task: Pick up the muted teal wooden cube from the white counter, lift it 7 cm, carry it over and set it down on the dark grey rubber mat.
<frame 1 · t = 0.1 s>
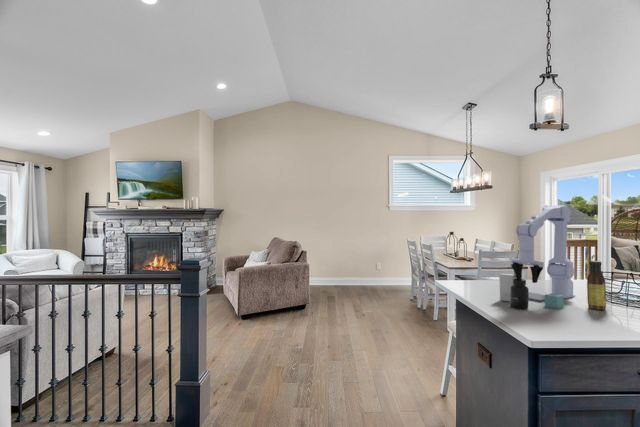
hand: (526, 281, 163), 10 cm above the table, tool pointing down, fingers open, 7 cm apart
teal cube: (554, 306, 158), on the table
sauce bottle: (596, 309, 154), on the table
rubber mat: (535, 298, 173), on the table
skincare box: (507, 301, 168), on the table, touching gripper
supplement bottle: (519, 308, 156), on the table
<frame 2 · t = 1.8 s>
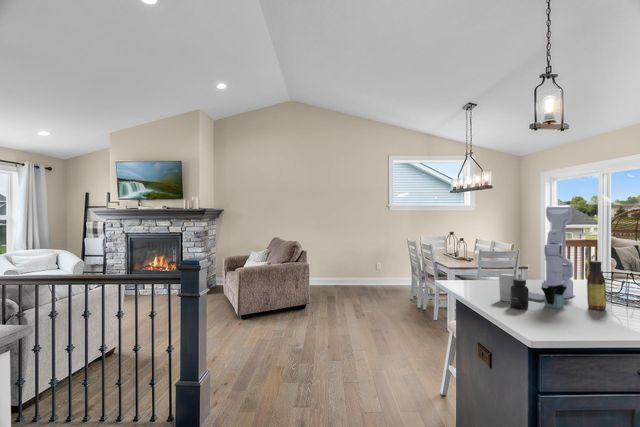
hand: (554, 303, 158), 1 cm above the table, tool pointing down, fingers closed on teal cube, 5 cm apart
teal cube: (554, 306, 158), on the table, touching gripper
skincare box: (507, 301, 168), on the table
everything else where it was.
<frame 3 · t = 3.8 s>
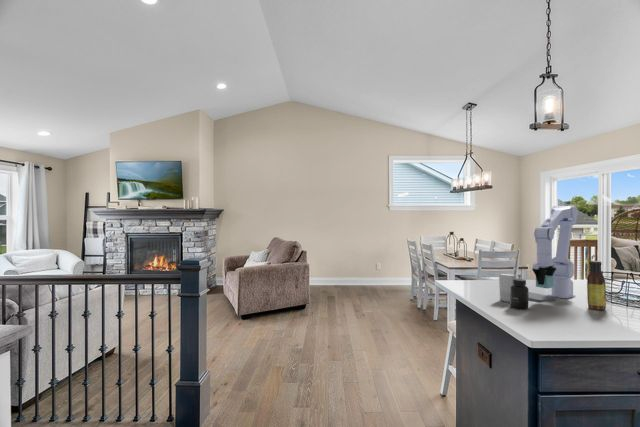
hand: (544, 283, 165), 8 cm above the table, tool pointing down, fingers closed on teal cube, 5 cm apart
teal cube: (544, 286, 165), point 7 cm above the table, touching gripper
everything else where it was.
when the fingers open (3 cm above the table, at t = 5.7 s): teal cube stays where it is, resting on rubber mat.
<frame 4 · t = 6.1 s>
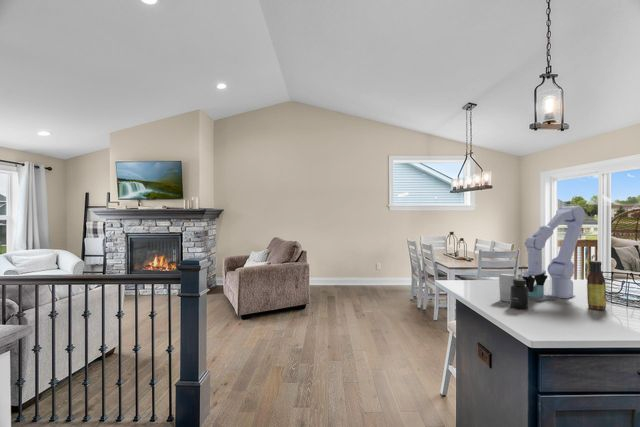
hand: (534, 290, 173), 3 cm above the table, tool pointing down, fingers open, 7 cm apart
teal cube: (535, 296, 173), point 1 cm above the table, touching rubber mat
everything else where it was.
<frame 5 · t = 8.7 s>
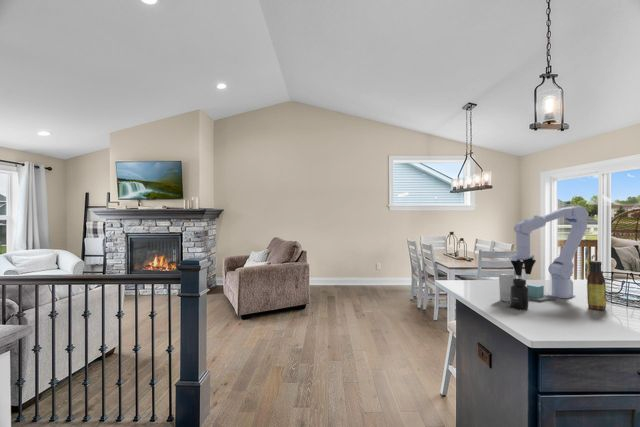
hand: (523, 274, 177), 10 cm above the table, tool pointing down, fingers open, 7 cm apart
nothing on the table moved.
at the end: teal cube inside the target area on the rubber mat (0.1 cm from its centre), point 1.0 cm above the rubber mat's base; teal cube tilted 0°; the gripper is holding nothing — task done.
